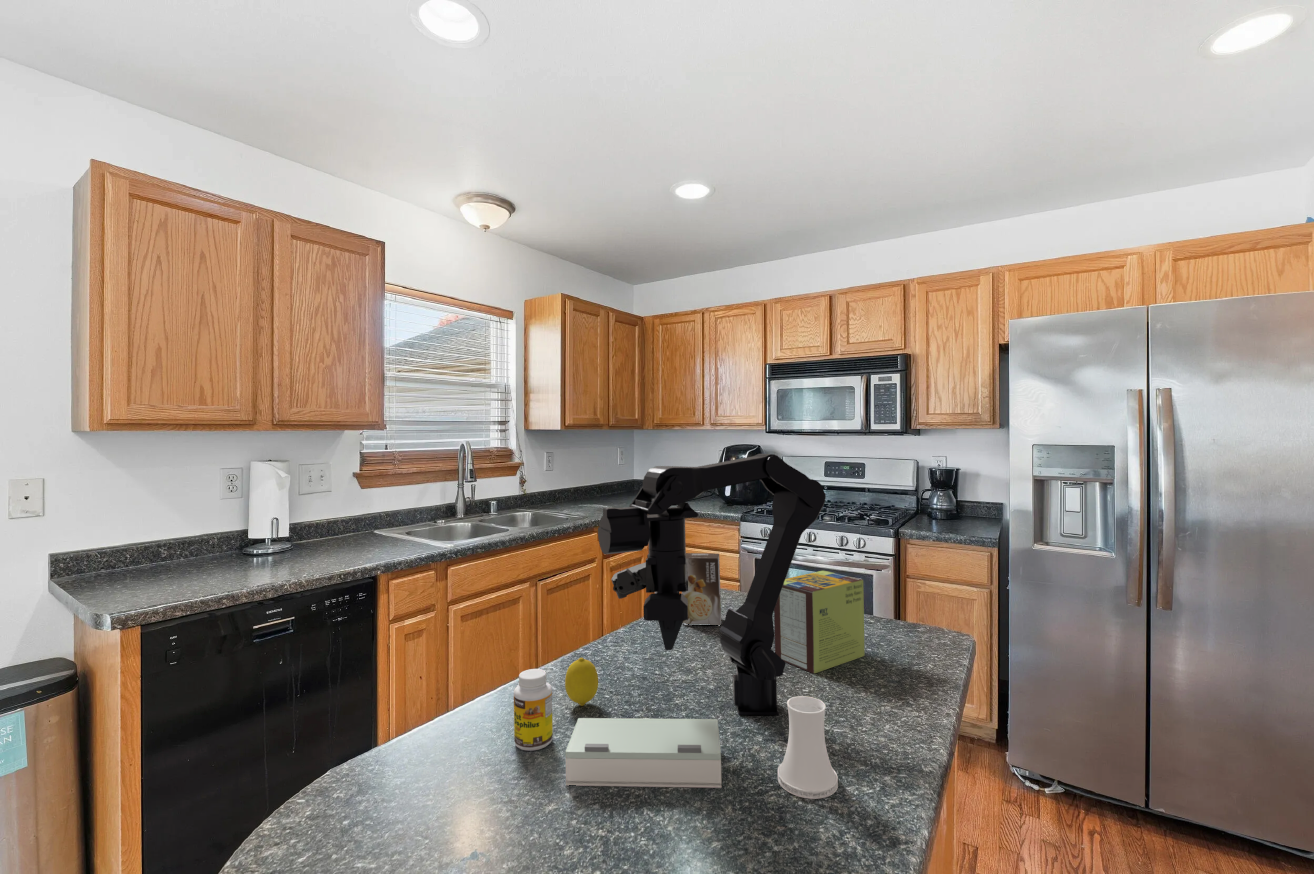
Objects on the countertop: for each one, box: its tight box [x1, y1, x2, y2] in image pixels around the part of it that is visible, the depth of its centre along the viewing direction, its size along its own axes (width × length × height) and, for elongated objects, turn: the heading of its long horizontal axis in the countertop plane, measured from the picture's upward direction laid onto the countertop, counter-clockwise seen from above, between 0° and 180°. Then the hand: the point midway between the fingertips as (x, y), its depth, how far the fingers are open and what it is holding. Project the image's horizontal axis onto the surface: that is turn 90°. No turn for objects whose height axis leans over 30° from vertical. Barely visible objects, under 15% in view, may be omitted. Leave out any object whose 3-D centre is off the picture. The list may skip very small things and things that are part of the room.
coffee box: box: [681, 552, 722, 626], centre depth 142 cm, size 9×6×16 cm
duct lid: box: [564, 717, 722, 761], centre depth 80 cm, size 20×9×1 cm, turn 87°
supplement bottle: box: [513, 668, 554, 752], centre depth 87 cm, size 6×6×10 cm
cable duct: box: [565, 758, 722, 789], centre depth 80 cm, size 20×9×4 cm, turn 87°
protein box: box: [773, 570, 866, 675], centre depth 118 cm, size 10×15×16 cm
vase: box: [777, 695, 839, 800], centre depth 76 cm, size 8×8×10 cm
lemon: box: [564, 657, 599, 707], centre depth 99 cm, size 6×6×8 cm
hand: (668, 649), depth 91 cm, fingers closed
